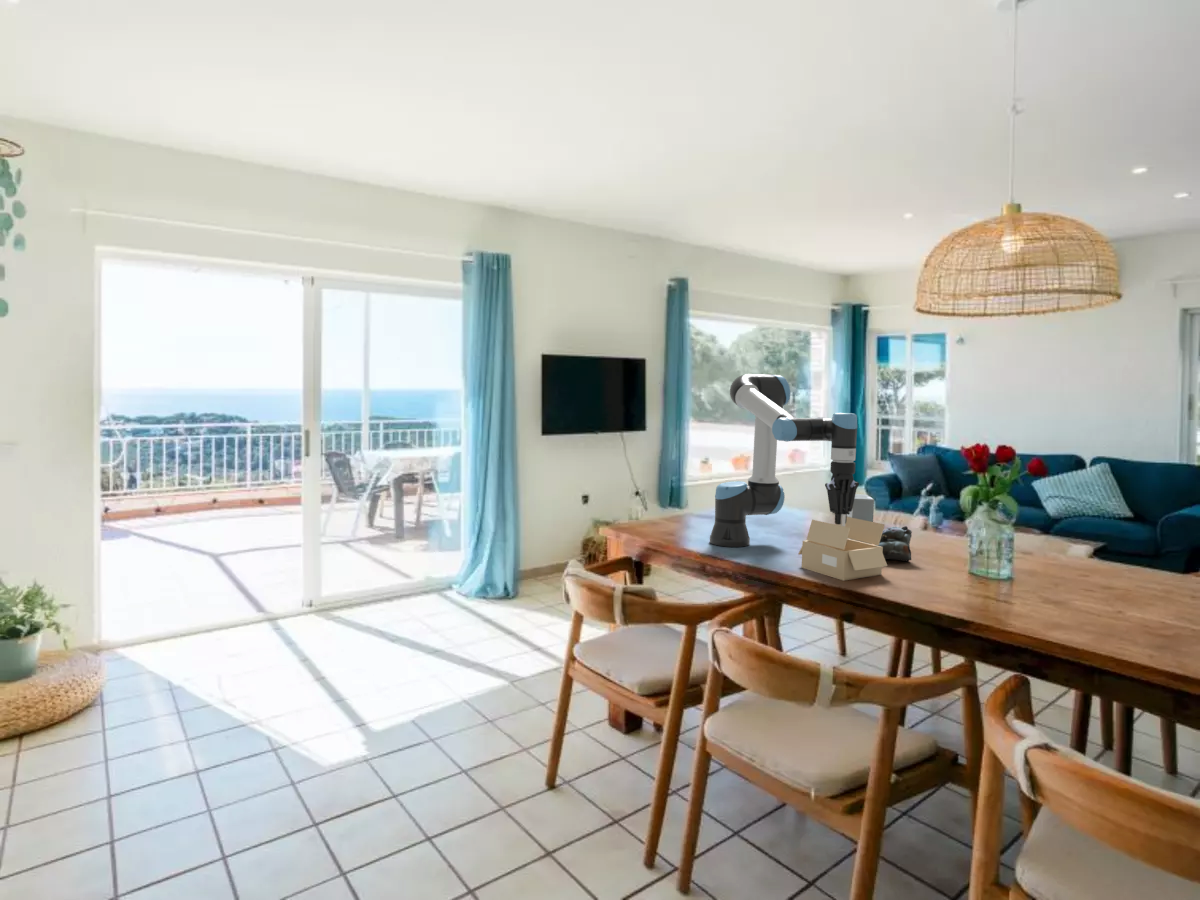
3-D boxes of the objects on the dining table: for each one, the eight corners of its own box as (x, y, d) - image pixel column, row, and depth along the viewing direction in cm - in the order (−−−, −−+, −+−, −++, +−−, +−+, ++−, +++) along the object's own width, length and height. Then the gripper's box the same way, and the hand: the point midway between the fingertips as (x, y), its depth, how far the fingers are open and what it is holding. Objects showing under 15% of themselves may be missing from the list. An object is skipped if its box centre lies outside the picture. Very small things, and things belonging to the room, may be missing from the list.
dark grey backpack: (860, 558, 248) (864, 521, 253) (883, 568, 253) (887, 532, 258) (895, 554, 235) (899, 515, 240) (920, 565, 240) (923, 527, 245)
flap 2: (877, 545, 225) (878, 545, 225) (884, 524, 226) (884, 524, 226) (839, 536, 239) (840, 536, 239) (845, 516, 240) (846, 516, 240)
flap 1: (807, 540, 232) (806, 539, 232) (812, 519, 233) (812, 519, 232) (844, 549, 218) (843, 549, 218) (850, 528, 219) (849, 527, 218)
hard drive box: (872, 554, 255) (874, 499, 254) (850, 552, 257) (852, 498, 255) (865, 545, 270) (867, 493, 269) (844, 544, 272) (846, 492, 270)
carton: (794, 565, 236) (795, 538, 235) (831, 560, 244) (832, 534, 243) (851, 583, 215) (852, 554, 214) (890, 577, 222) (891, 549, 222)
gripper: (837, 462, 220) (834, 537, 222) (866, 461, 226) (863, 534, 228) (819, 460, 226) (816, 533, 228) (848, 459, 232) (845, 530, 234)
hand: (840, 533), depth 228 cm, fingers closed
